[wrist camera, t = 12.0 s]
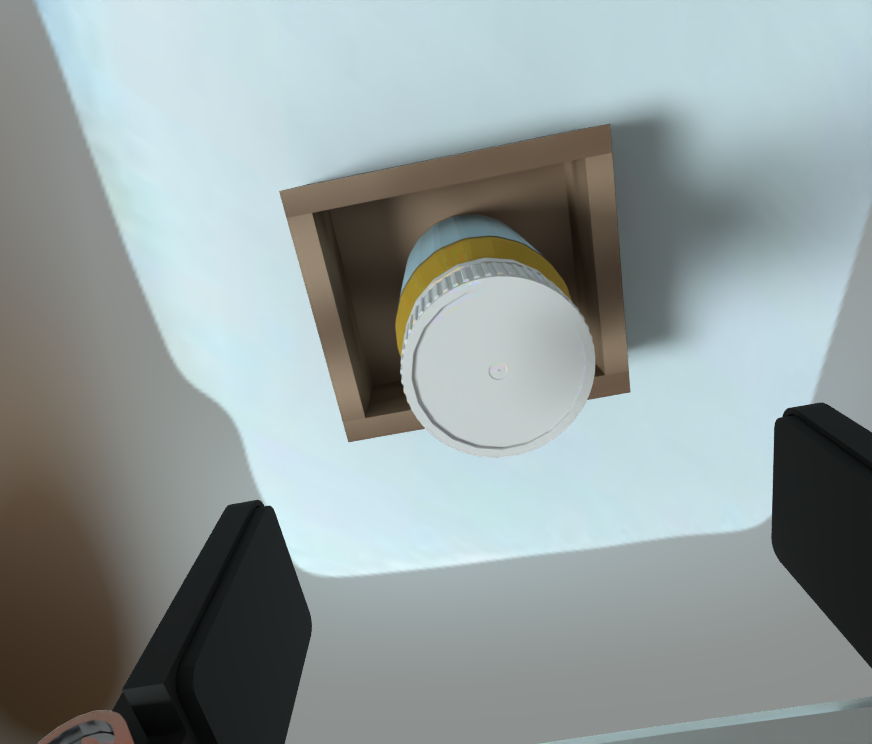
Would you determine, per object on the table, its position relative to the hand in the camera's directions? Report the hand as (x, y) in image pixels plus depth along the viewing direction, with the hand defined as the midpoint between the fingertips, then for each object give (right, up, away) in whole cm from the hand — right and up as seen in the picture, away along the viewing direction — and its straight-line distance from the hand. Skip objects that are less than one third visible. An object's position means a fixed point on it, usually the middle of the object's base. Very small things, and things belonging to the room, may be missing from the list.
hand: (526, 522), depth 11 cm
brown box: (0, +8, +22) cm, 24 cm away
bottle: (0, +8, +22) cm, 23 cm away
